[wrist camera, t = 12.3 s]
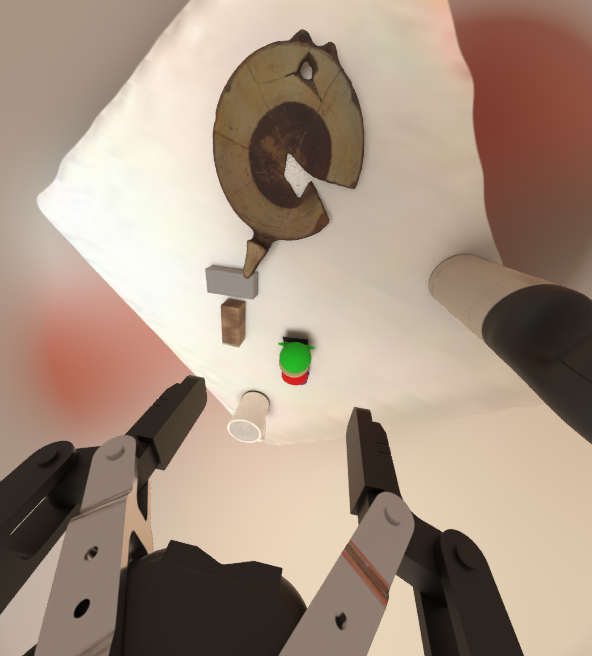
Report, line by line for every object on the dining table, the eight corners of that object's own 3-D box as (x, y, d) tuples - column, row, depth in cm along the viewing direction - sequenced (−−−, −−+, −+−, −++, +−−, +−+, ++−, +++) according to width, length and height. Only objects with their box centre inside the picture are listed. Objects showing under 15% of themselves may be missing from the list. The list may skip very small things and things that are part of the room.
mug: (236, 397, 65) (220, 427, 56) (255, 384, 62) (242, 414, 53) (262, 418, 68) (251, 450, 59) (282, 407, 65) (273, 439, 56)
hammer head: (258, 272, 46) (253, 275, 43) (257, 294, 48) (253, 299, 46) (212, 265, 47) (205, 268, 44) (214, 287, 49) (207, 292, 46)
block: (238, 308, 46) (239, 347, 51) (245, 301, 50) (245, 338, 55) (220, 305, 46) (222, 344, 51) (228, 298, 50) (229, 335, 55)
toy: (314, 363, 59) (316, 337, 46) (310, 392, 55) (312, 372, 42) (283, 359, 60) (277, 332, 47) (277, 387, 56) (269, 367, 43)
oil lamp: (395, 147, 33) (411, 132, 27) (273, 283, 47) (263, 296, 40) (286, 4, 28) (272, -58, 22) (185, 202, 42) (156, 201, 35)
